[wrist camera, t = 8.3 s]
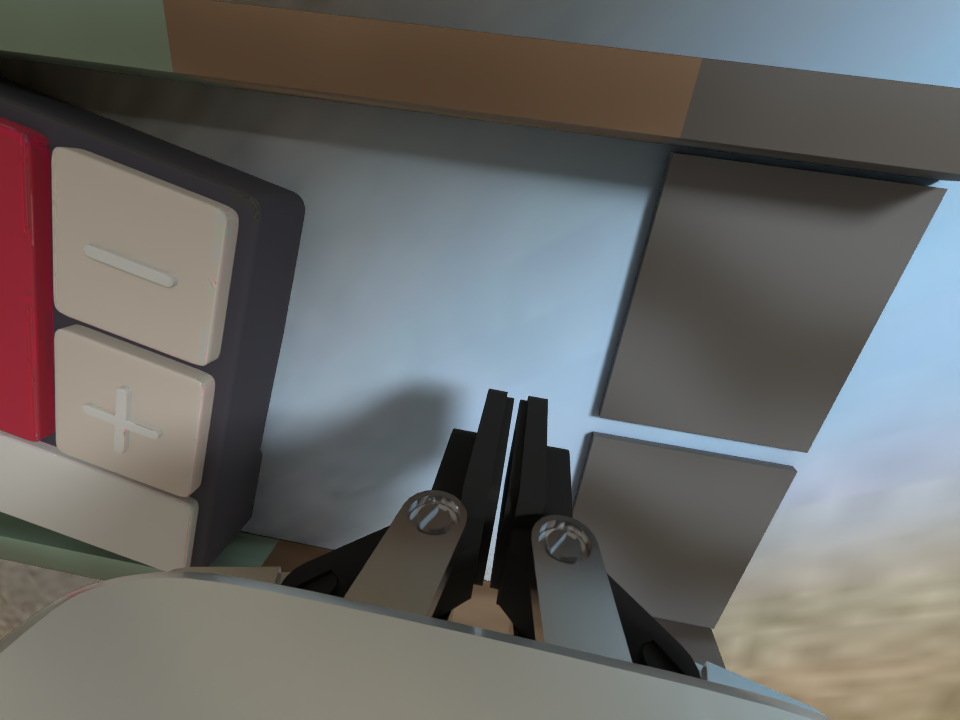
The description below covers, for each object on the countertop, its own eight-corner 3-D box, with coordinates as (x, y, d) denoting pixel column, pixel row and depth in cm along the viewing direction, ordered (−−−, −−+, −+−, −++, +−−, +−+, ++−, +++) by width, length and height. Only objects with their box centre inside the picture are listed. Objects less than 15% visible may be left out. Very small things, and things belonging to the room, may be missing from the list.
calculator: (244, 199, 11) (185, 600, 16) (321, 196, 15) (252, 520, 20) (-194, 27, 11) (-102, 497, 16) (6, 72, 15) (24, 436, 20)
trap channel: (-224, -30, 13) (-423, -81, 10) (976, 115, 11) (1119, 100, 8) (6, 507, 22) (-70, 556, 19) (698, 646, 20) (723, 724, 17)
